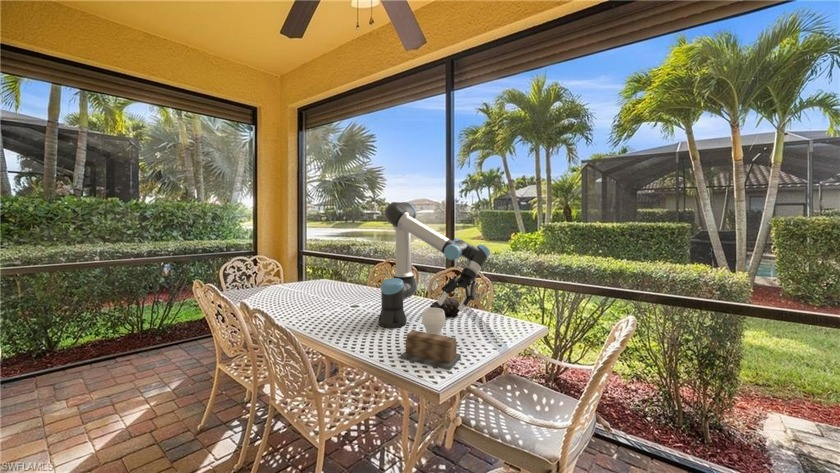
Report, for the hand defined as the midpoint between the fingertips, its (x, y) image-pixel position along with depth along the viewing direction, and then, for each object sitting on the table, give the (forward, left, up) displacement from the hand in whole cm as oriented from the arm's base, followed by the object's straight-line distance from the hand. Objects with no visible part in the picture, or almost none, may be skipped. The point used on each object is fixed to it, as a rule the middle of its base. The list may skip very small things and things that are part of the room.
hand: (449, 307), depth 166 cm
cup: (-4, -8, -15) cm, 18 cm away
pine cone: (-15, +31, -15) cm, 38 cm away
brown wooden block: (+2, -24, -15) cm, 29 cm away
